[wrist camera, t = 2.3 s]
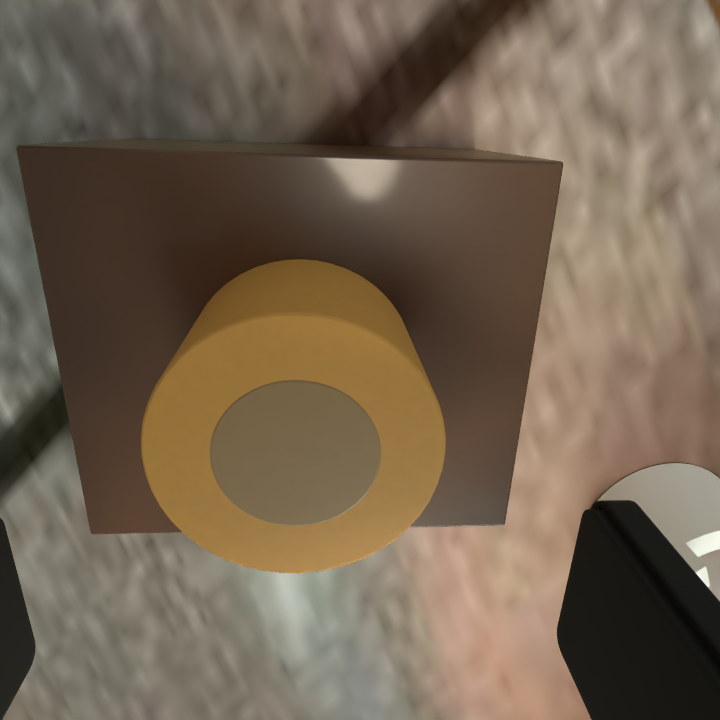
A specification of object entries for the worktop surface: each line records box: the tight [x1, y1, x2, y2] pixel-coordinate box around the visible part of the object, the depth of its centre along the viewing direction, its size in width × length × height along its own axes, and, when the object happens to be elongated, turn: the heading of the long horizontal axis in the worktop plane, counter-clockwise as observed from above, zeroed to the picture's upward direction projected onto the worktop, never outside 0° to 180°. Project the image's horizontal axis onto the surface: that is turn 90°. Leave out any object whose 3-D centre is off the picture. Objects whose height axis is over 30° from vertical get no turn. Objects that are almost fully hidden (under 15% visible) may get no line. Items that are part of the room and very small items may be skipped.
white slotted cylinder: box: [591, 463, 720, 601], centre depth 31 cm, size 20×9×7 cm, turn 22°
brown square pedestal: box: [17, 138, 563, 534], centre depth 21 cm, size 14×12×9 cm
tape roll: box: [141, 259, 446, 573], centre depth 14 cm, size 7×7×5 cm
